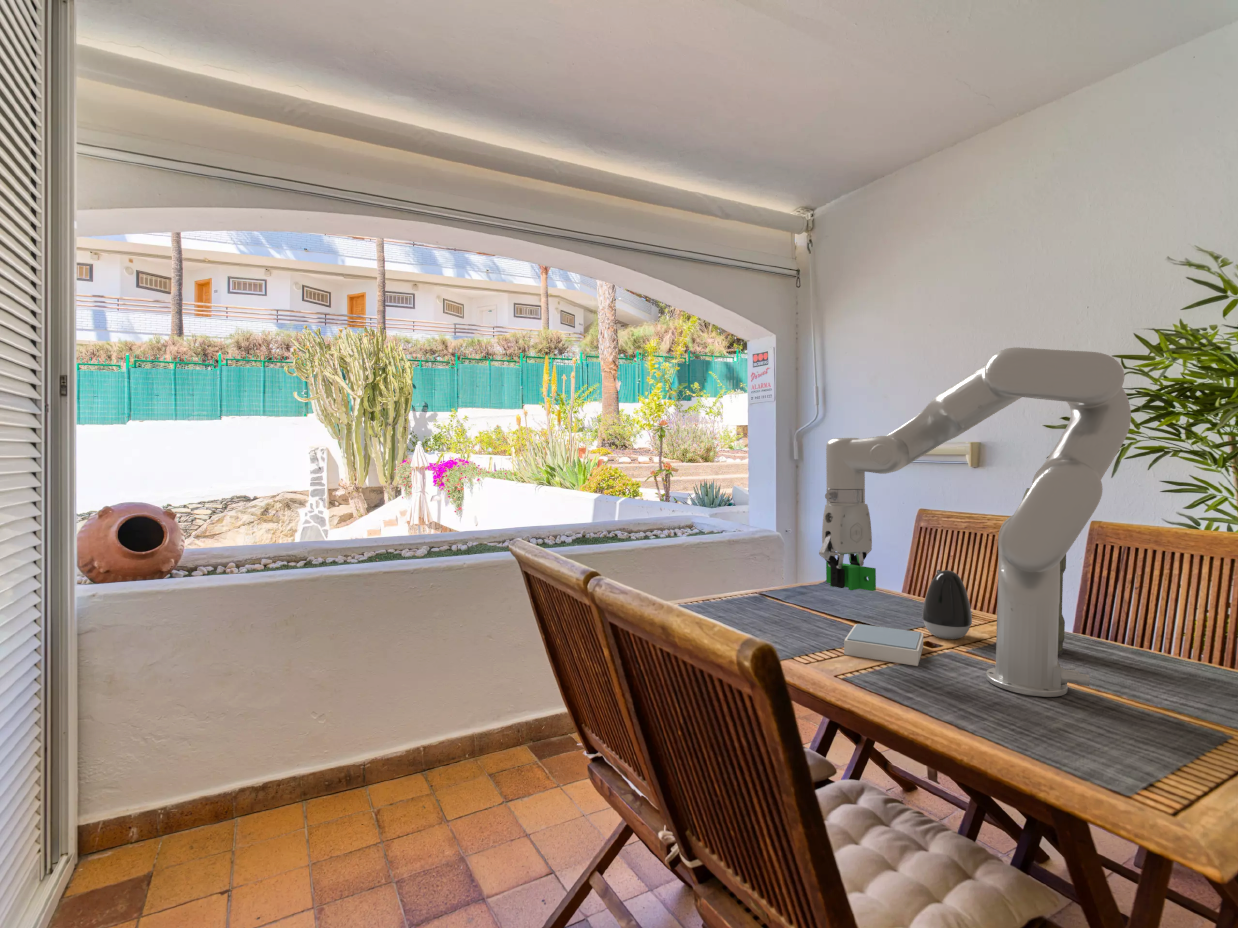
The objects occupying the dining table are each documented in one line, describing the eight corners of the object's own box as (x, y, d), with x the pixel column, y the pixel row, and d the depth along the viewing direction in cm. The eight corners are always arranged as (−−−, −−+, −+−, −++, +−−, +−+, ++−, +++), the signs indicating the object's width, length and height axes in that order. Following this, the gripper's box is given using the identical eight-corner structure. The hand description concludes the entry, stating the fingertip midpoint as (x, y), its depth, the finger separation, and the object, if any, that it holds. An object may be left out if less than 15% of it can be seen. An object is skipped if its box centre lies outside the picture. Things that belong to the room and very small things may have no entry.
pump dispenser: (959, 630, 153) (961, 566, 152) (979, 643, 142) (981, 575, 142) (914, 628, 154) (916, 565, 153) (931, 641, 143) (933, 574, 143)
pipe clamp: (818, 584, 137) (818, 562, 137) (829, 582, 139) (829, 561, 139) (864, 592, 128) (864, 569, 128) (876, 590, 130) (875, 567, 130)
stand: (923, 647, 140) (923, 631, 139) (917, 666, 127) (918, 649, 127) (855, 637, 146) (855, 622, 146) (844, 654, 134) (844, 638, 134)
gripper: (829, 500, 126) (830, 593, 126) (888, 496, 134) (889, 584, 134) (802, 498, 132) (802, 586, 133) (859, 495, 140) (860, 578, 141)
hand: (846, 584), depth 133 cm, fingers closed on pipe clamp, 4 cm apart
